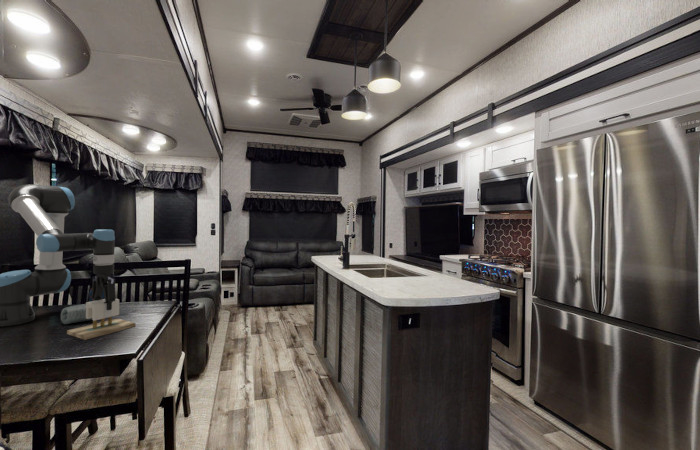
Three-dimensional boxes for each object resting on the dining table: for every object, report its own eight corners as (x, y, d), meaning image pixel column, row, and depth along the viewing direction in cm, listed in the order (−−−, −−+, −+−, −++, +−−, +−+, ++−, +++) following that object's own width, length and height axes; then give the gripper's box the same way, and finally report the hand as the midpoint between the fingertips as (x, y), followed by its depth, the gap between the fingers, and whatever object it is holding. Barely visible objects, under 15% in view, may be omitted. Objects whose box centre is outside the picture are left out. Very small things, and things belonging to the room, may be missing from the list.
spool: (57, 321, 146) (65, 299, 151) (56, 325, 152) (64, 304, 157) (94, 323, 154) (101, 302, 159) (92, 328, 160) (99, 307, 165)
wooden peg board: (66, 333, 140) (67, 321, 140) (117, 321, 158) (117, 310, 158) (85, 339, 134) (85, 326, 134) (135, 326, 152) (135, 314, 152)
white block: (85, 318, 142) (85, 302, 142) (110, 312, 152) (111, 297, 151) (94, 320, 140) (94, 304, 140) (119, 314, 149) (119, 299, 149)
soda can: (86, 311, 173) (87, 288, 173) (102, 308, 179) (102, 286, 179) (91, 313, 169) (92, 290, 169) (107, 310, 175) (107, 288, 175)
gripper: (81, 263, 146) (81, 315, 146) (107, 266, 138) (106, 321, 138) (100, 261, 153) (100, 311, 153) (125, 264, 145) (125, 317, 145)
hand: (103, 315), depth 146 cm, fingers closed on white block, 6 cm apart
